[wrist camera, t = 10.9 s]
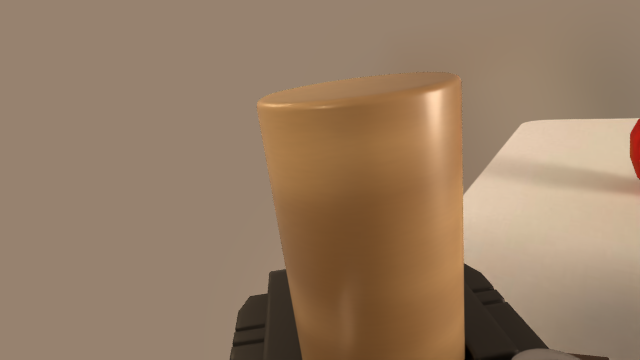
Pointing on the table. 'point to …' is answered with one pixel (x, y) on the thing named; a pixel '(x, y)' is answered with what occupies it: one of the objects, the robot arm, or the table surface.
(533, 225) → the table surface
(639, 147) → the apple
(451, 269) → the wooden peg stand
